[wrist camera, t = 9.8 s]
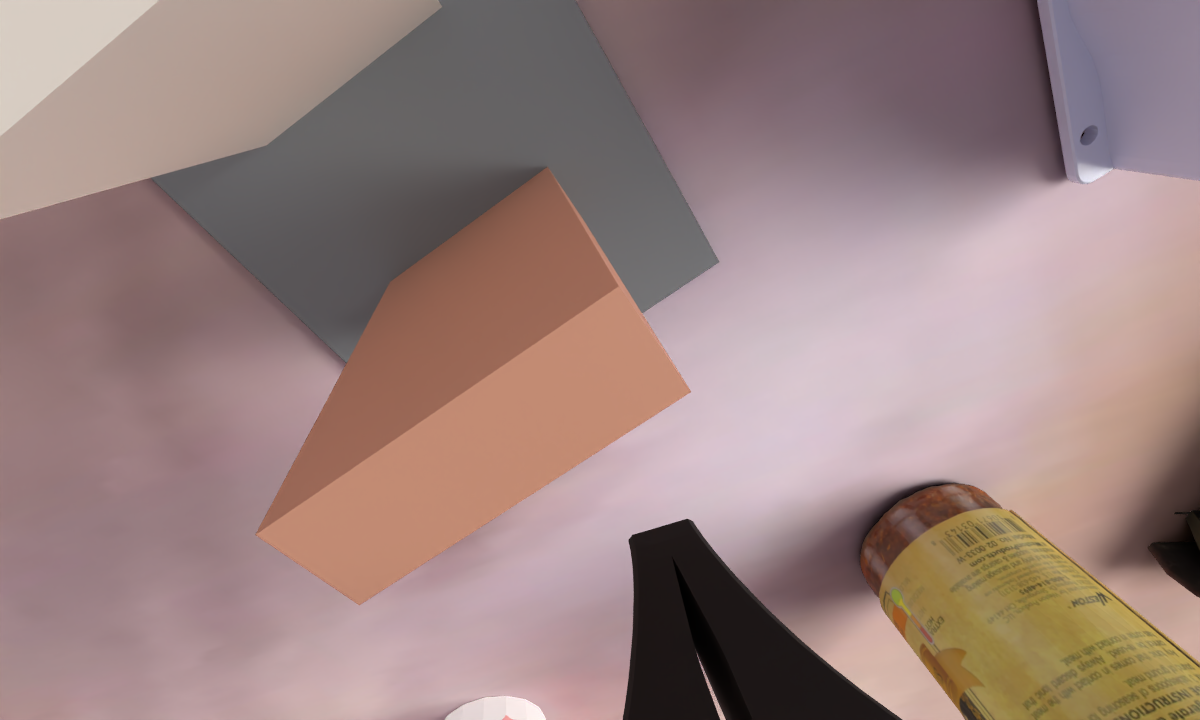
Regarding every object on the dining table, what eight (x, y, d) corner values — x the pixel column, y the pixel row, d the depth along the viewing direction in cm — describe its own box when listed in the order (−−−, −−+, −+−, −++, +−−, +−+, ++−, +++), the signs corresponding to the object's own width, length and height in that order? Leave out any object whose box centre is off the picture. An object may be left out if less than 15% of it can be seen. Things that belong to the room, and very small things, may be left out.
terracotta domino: (389, 281, 14) (254, 534, 6) (547, 166, 14) (618, 287, 6) (432, 327, 15) (359, 604, 7) (583, 220, 14) (691, 391, 6)
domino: (442, 6, 12) (331, -148, 4) (266, 145, 12) (-143, 260, 4) (389, -73, 11) (117, -465, 3) (204, 78, 12) (-415, 72, 4)
